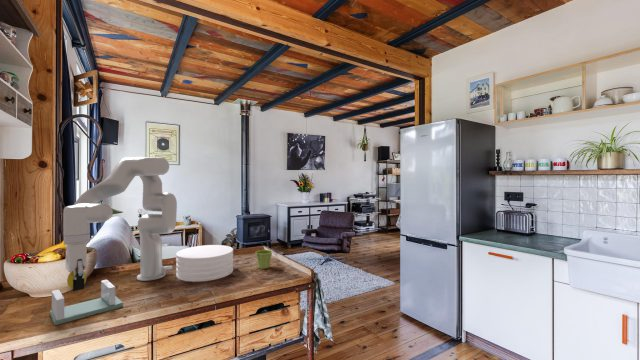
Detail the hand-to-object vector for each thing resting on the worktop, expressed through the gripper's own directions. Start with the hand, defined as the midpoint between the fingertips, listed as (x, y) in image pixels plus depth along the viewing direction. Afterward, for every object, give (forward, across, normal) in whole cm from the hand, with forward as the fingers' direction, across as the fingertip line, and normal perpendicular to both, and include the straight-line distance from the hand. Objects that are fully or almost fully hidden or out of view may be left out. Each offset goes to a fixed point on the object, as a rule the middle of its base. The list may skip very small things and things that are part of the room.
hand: (76, 287), depth 111 cm
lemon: (+1, 0, 0) cm, 1 cm away
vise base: (+10, 0, +3) cm, 10 cm away
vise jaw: (+8, 0, +10) cm, 12 cm away
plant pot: (+9, +6, +81) cm, 82 cm away
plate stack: (+10, -10, +55) cm, 57 cm away
